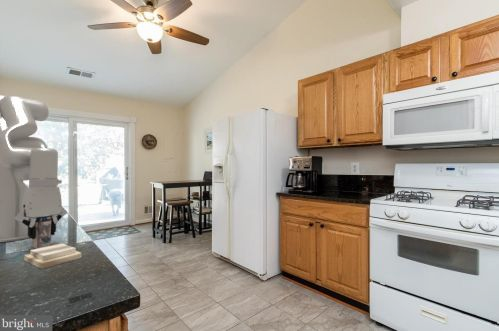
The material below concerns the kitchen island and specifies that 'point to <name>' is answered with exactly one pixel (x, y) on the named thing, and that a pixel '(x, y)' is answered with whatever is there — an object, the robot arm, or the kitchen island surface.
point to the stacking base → (53, 261)
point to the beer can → (42, 231)
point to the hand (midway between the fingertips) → (42, 235)
